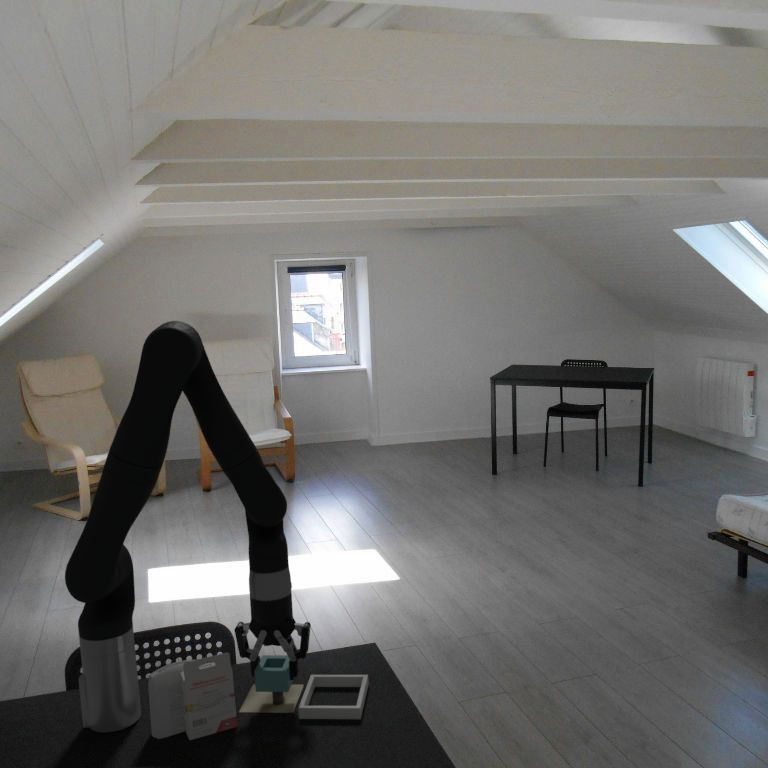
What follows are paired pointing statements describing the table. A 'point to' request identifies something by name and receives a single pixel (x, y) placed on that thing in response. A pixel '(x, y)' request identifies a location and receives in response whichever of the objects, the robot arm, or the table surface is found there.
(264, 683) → the teal hollow block
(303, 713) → the tray
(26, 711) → the table surface
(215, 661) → the ink cartridge box
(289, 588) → the robot arm
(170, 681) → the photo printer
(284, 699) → the peg board
